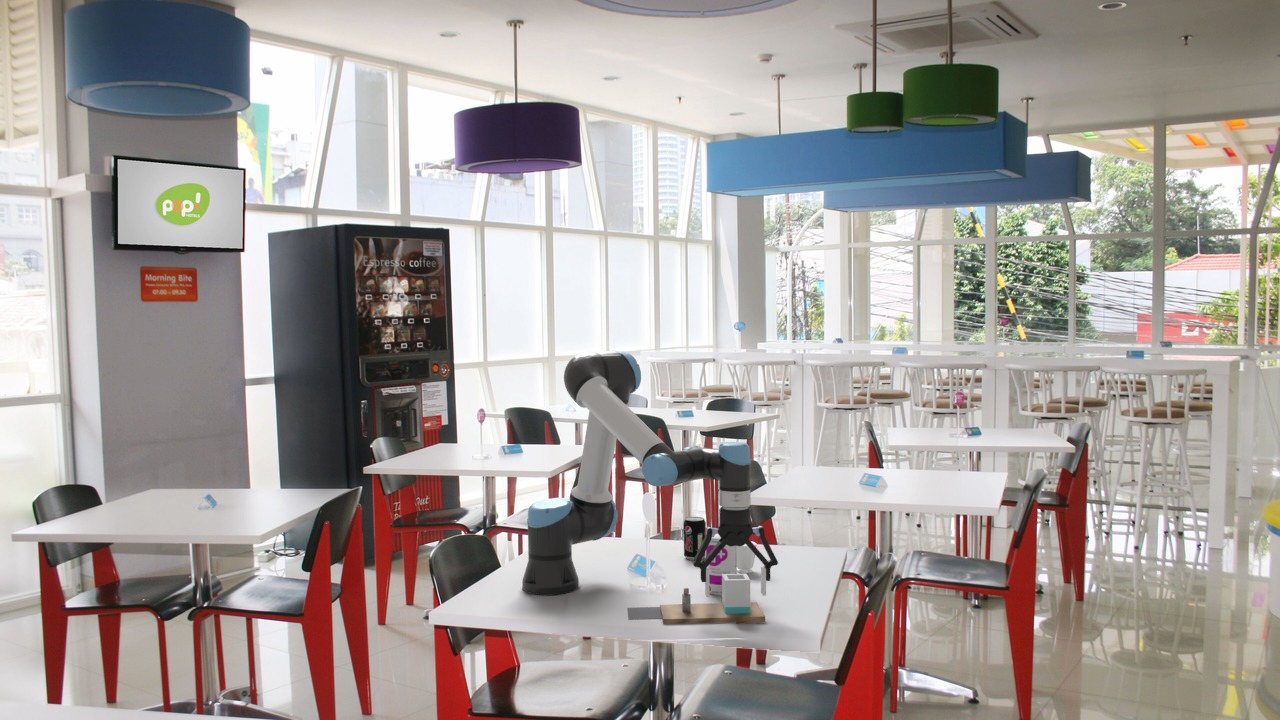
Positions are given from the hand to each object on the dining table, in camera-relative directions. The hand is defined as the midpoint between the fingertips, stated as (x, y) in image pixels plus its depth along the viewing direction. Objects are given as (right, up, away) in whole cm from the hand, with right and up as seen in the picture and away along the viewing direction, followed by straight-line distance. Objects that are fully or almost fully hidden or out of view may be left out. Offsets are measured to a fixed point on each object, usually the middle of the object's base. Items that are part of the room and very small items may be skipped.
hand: (735, 594), depth 236 cm
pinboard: (-6, -5, 0) cm, 8 cm away
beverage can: (-6, -3, +60) cm, 60 cm away
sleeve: (0, -4, 0) cm, 4 cm away
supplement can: (-2, -5, +21) cm, 22 cm away
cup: (+5, -4, +43) cm, 44 cm away
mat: (-21, -5, +2) cm, 22 cm away
